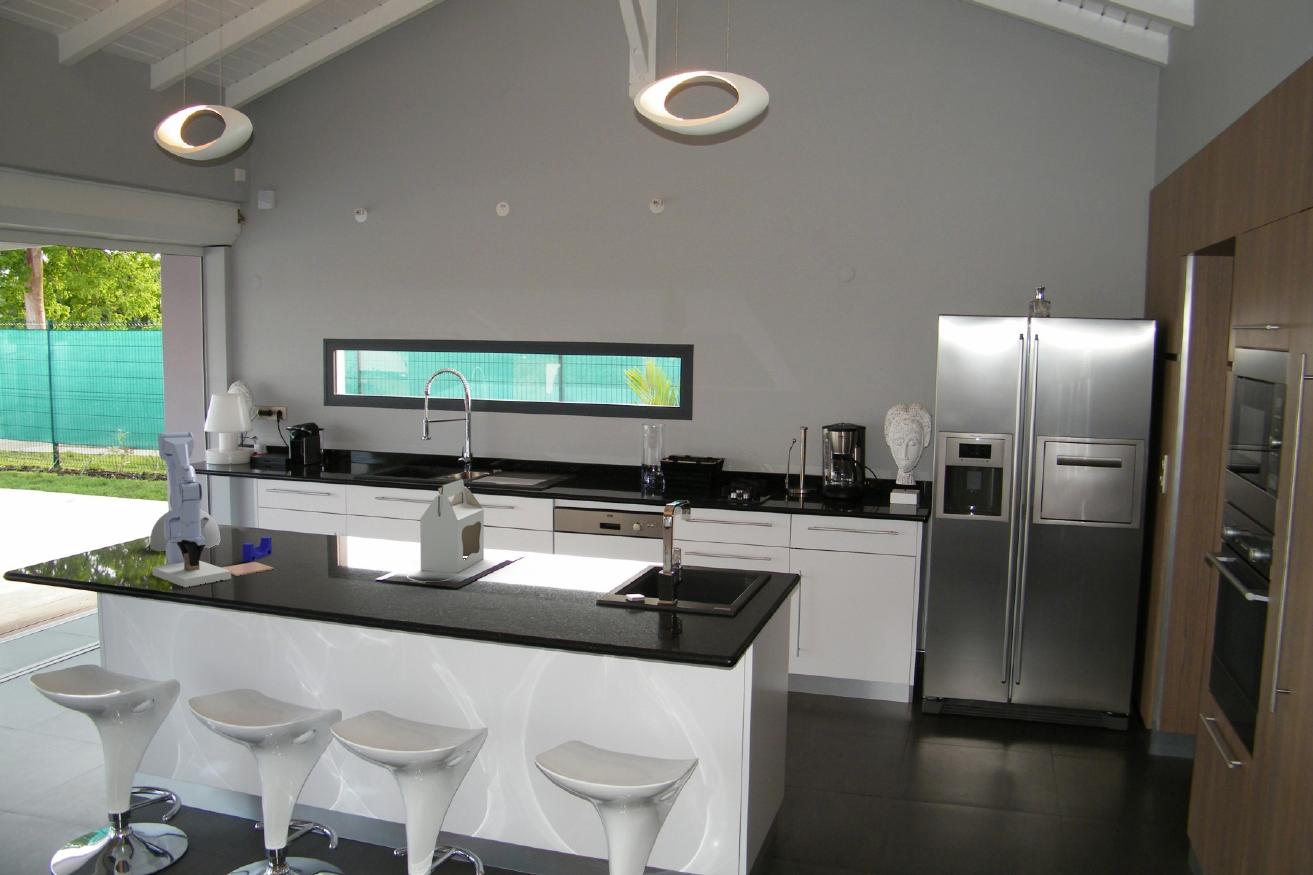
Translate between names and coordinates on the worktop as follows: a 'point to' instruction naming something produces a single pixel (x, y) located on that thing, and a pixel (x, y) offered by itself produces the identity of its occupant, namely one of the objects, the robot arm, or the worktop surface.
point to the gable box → (452, 530)
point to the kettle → (207, 531)
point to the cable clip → (257, 549)
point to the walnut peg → (187, 564)
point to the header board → (191, 574)
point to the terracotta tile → (247, 568)
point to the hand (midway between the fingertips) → (191, 564)
